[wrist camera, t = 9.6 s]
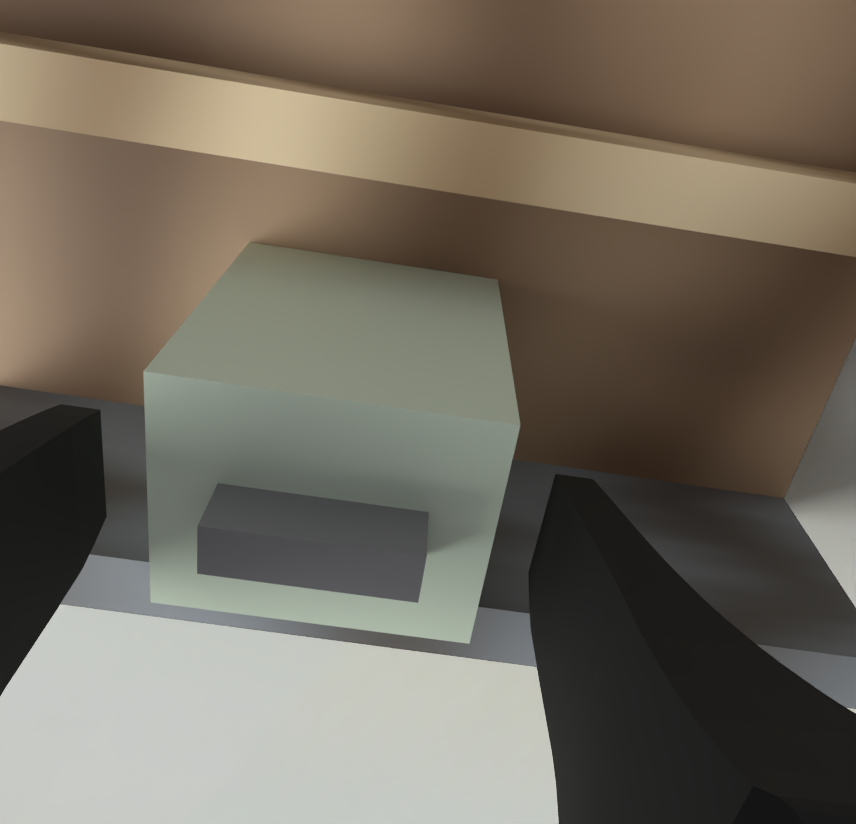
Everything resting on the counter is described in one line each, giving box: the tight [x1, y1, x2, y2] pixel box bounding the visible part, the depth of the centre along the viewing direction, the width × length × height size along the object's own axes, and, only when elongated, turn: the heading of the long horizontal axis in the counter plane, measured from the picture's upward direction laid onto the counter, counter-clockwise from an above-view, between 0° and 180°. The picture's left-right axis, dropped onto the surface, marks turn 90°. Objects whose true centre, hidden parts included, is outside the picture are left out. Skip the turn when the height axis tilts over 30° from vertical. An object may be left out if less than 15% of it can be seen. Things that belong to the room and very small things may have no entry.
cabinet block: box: [143, 242, 520, 644], centre depth 13 cm, size 5×4×7 cm
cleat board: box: [0, 0, 856, 709], centre depth 13 cm, size 18×14×6 cm
